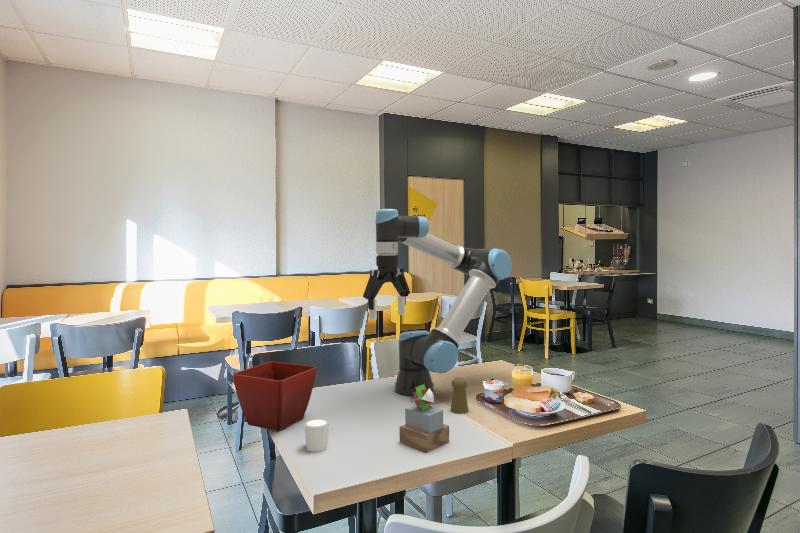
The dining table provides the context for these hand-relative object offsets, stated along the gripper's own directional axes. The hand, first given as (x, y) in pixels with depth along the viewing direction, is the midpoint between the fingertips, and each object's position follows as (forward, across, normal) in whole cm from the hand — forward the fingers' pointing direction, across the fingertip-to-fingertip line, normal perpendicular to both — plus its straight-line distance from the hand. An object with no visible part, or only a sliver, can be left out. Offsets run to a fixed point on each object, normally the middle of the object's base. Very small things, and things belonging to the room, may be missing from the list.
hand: (387, 317), depth 164 cm
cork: (+32, +15, -19) cm, 40 cm away
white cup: (+32, -36, -8) cm, 49 cm away
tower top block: (+27, -13, -28) cm, 41 cm away
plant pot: (+32, -33, +18) cm, 49 cm away
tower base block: (+32, -13, -28) cm, 44 cm away
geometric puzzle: (+22, -13, -27) cm, 38 cm away
